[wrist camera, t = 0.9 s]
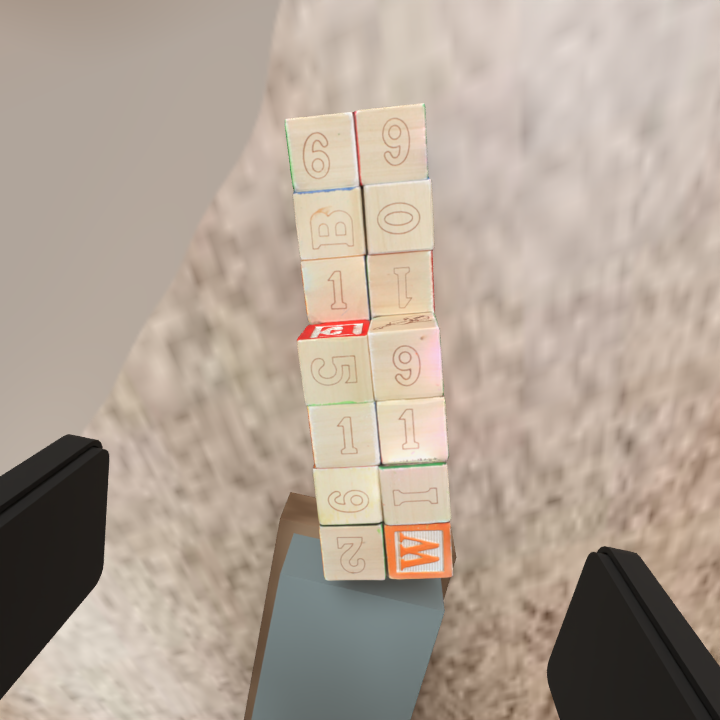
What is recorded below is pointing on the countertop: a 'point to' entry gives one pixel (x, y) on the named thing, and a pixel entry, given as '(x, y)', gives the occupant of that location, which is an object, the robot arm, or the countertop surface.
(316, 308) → the stack of blocks
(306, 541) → the tower top slab
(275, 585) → the tower base slab
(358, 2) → the countertop surface
